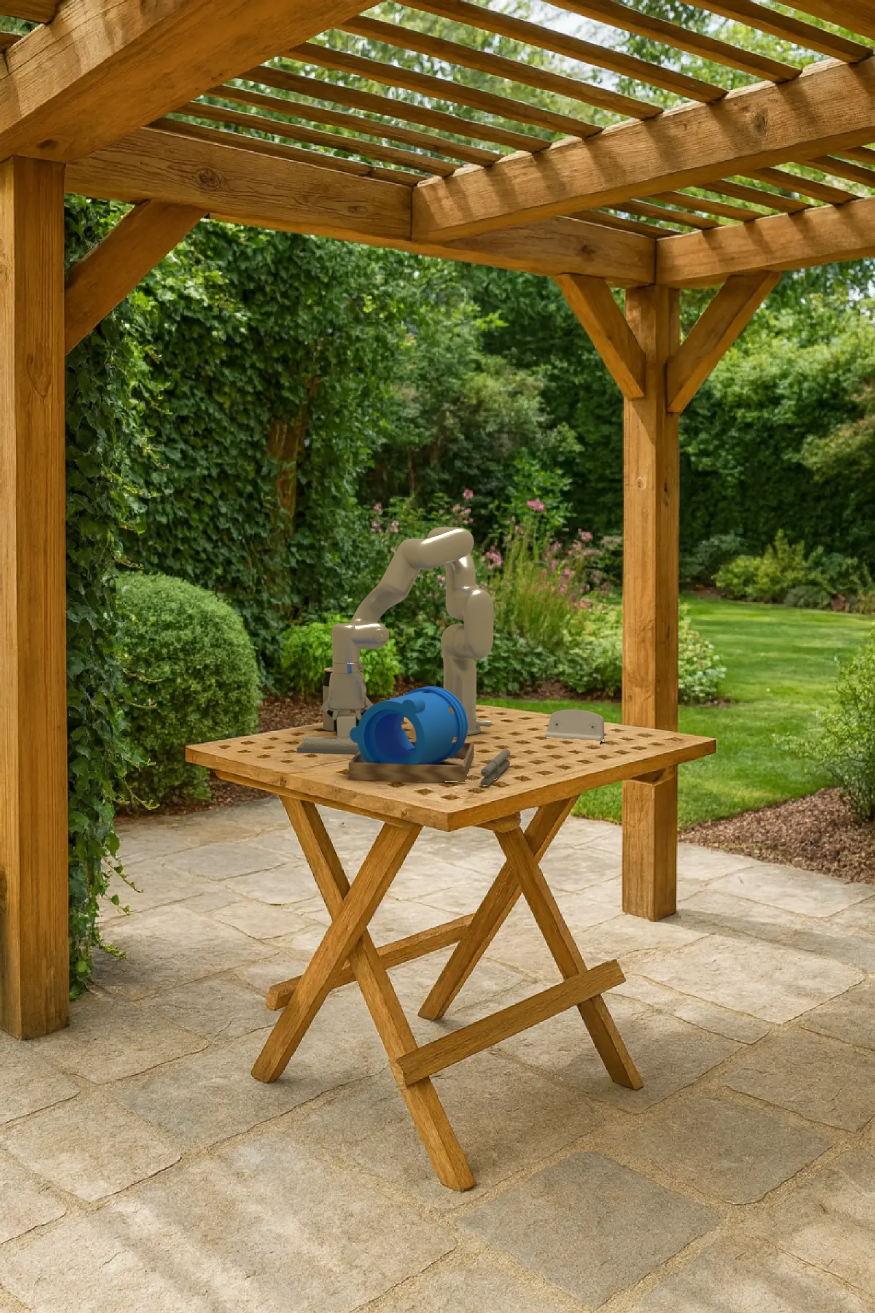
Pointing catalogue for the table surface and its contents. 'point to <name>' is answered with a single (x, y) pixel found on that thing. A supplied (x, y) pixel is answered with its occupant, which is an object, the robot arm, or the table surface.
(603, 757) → the table surface
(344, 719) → the block
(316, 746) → the rail board
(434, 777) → the brown wooden tray
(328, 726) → the travel mug
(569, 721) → the grey mounting bracket
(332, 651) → the robot arm
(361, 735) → the tube
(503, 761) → the metal rod assembly
